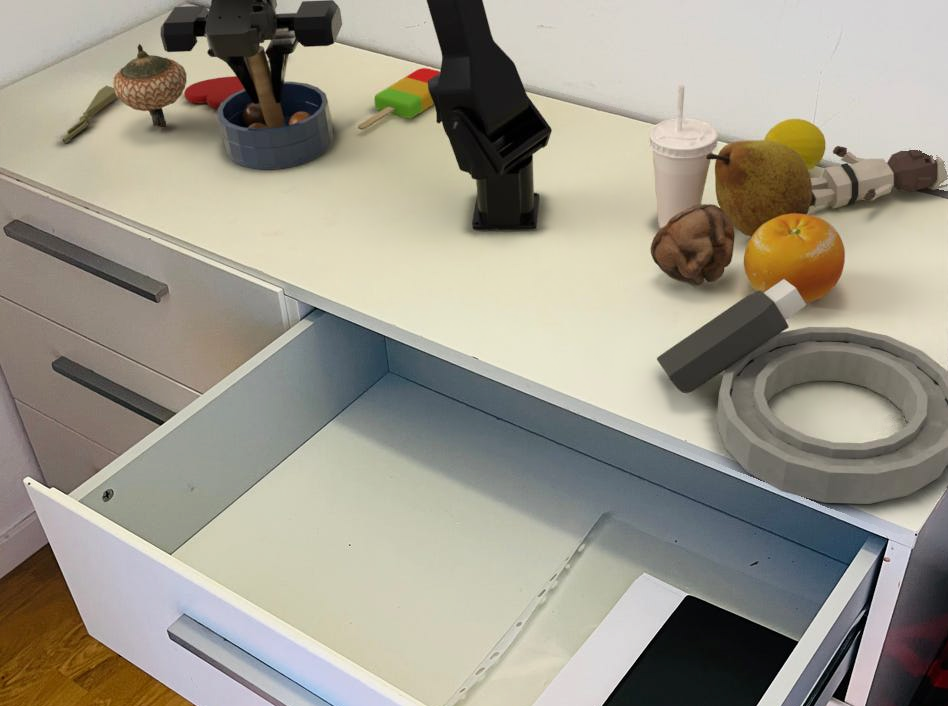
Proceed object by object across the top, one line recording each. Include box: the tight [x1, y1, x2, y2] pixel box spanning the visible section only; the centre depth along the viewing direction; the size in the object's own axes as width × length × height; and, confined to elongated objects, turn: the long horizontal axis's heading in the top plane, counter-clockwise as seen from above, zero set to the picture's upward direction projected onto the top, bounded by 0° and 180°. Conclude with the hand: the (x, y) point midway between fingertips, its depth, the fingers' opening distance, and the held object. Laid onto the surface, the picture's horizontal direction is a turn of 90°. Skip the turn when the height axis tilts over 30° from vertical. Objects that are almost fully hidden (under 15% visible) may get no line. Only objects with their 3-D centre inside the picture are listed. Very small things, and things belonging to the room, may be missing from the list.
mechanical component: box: [715, 326, 948, 505], centre depth 92 cm, size 18×18×3 cm
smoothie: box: [648, 84, 719, 230], centre depth 111 cm, size 6×6×14 cm
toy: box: [810, 145, 948, 210], centre depth 116 cm, size 8×5×15 cm
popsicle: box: [357, 67, 440, 131], centre depth 137 cm, size 6×15×2 cm, turn 144°
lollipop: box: [184, 59, 270, 110], centre depth 145 cm, size 8×1×15 cm
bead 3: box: [289, 111, 312, 125], centre depth 131 cm, size 3×3×3 cm
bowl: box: [216, 81, 334, 170], centre depth 132 cm, size 12×12×4 cm
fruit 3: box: [743, 213, 846, 304], centre depth 104 cm, size 8×8×8 cm
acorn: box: [112, 43, 187, 130], centre depth 134 cm, size 8×8×10 cm
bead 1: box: [242, 102, 266, 127], centre depth 134 cm, size 3×3×3 cm
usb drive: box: [656, 279, 807, 394], centre depth 95 cm, size 5×12×3 cm
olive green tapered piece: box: [61, 85, 118, 144], centre depth 140 cm, size 12×3×1 cm, turn 156°
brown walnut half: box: [650, 203, 736, 287], centre depth 106 cm, size 8×8×5 cm
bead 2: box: [248, 123, 269, 129], centre depth 130 cm, size 3×3×3 cm
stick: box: [246, 45, 286, 129], centre depth 131 cm, size 2×2×9 cm
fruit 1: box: [763, 118, 826, 171], centre depth 120 cm, size 6×6×8 cm
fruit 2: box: [706, 139, 812, 238], centre depth 110 cm, size 9×9×12 cm
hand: (267, 102), depth 131 cm, fingers closed on stick, 2 cm apart
